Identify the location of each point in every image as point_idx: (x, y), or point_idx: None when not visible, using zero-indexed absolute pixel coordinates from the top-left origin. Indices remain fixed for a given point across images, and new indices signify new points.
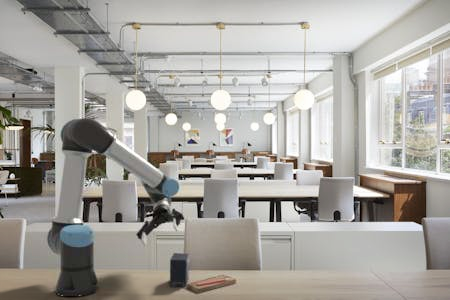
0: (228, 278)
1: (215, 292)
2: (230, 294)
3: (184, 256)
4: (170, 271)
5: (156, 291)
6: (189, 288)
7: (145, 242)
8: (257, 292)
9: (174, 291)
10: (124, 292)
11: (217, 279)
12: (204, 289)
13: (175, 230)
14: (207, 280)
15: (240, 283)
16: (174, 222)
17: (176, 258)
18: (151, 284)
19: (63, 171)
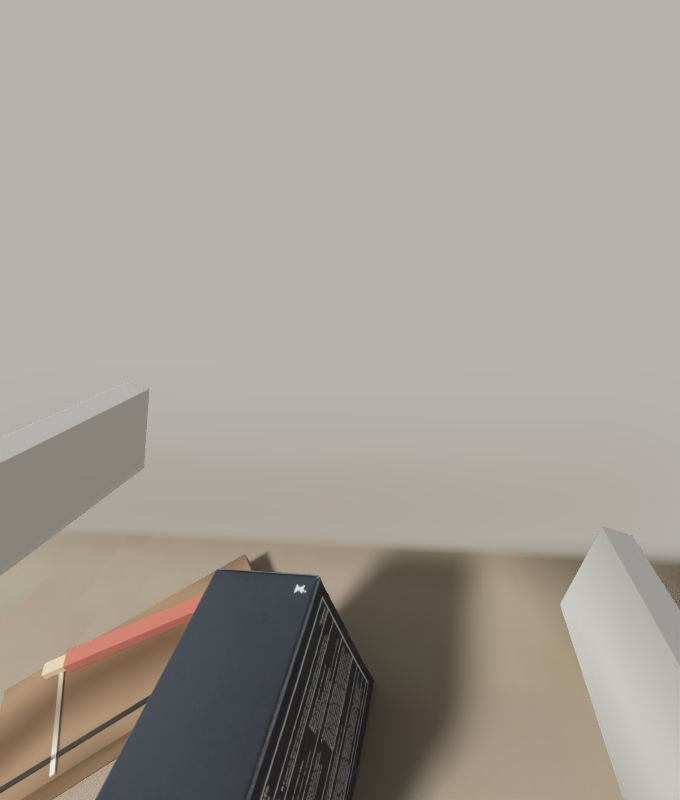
0: (44, 671)
1: (187, 568)
2: (151, 543)
3: (181, 673)
4: (343, 626)
5: (452, 604)
6: None
7: (582, 618)
8: (58, 558)
9: (355, 595)
10: None
11: (88, 697)
12: None
13: (144, 451)
14: (145, 685)
15: (11, 686)
16: (64, 413)
17: (266, 601)
18: (513, 771)
19: None
